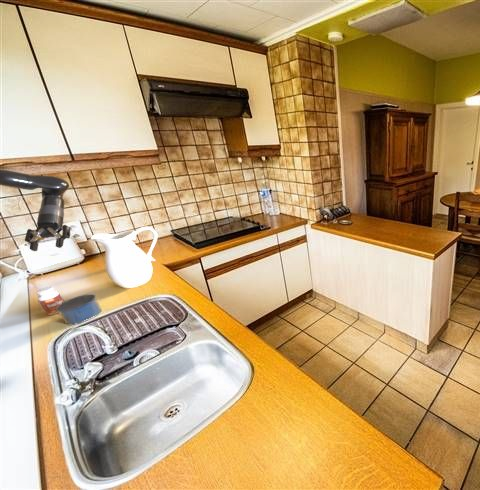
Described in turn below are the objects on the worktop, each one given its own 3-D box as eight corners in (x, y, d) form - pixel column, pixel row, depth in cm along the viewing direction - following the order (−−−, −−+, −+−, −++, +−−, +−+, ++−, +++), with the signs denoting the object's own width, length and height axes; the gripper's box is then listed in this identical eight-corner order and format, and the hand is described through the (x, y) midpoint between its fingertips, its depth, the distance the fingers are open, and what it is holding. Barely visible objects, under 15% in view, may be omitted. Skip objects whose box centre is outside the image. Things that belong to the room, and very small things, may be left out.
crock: (62, 329, 105) (53, 315, 102) (67, 315, 113) (59, 302, 110) (101, 316, 111) (93, 302, 109) (104, 304, 120) (96, 291, 117)
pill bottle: (52, 316, 113) (38, 294, 109) (44, 314, 115) (29, 292, 110) (71, 307, 119) (58, 286, 114) (62, 305, 120) (49, 284, 116)
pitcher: (115, 296, 126) (87, 242, 114) (115, 282, 137) (90, 232, 126) (174, 277, 140) (155, 228, 128) (170, 266, 151) (151, 220, 140)
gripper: (23, 215, 117) (16, 248, 111) (63, 210, 121) (59, 242, 115) (38, 222, 123) (33, 254, 118) (76, 218, 127) (73, 249, 122)
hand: (46, 248), depth 117 cm, fingers open, 8 cm apart
